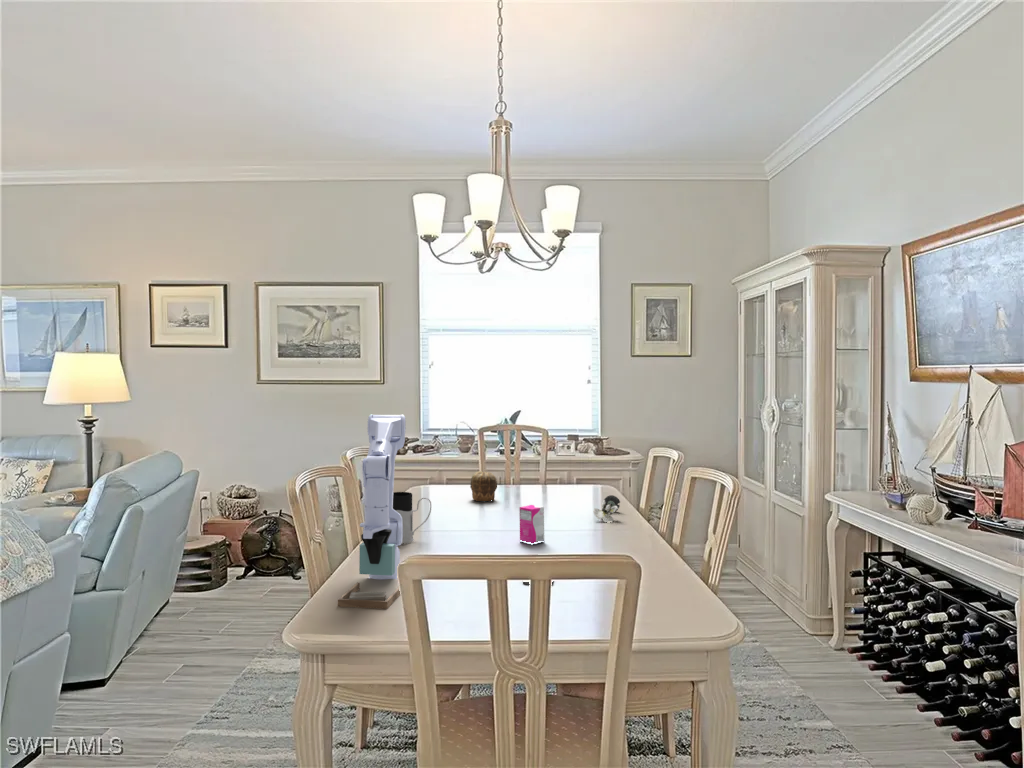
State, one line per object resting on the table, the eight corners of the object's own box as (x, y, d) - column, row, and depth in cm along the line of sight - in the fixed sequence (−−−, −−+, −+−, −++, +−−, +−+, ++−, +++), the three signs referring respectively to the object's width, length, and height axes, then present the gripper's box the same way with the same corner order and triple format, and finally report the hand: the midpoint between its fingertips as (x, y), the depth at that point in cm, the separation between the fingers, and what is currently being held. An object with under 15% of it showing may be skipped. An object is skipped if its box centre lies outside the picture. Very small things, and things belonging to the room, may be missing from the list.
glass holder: (387, 537, 248) (387, 491, 247) (431, 537, 249) (431, 491, 248) (385, 544, 239) (385, 496, 238) (431, 543, 240) (431, 496, 240)
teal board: (362, 571, 186) (362, 542, 186) (394, 572, 185) (394, 543, 184) (359, 574, 183) (359, 545, 183) (391, 575, 182) (392, 546, 182)
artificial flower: (624, 515, 293) (630, 492, 291) (608, 534, 273) (615, 509, 270) (602, 507, 296) (608, 484, 294) (584, 525, 276) (591, 500, 273)
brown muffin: (467, 502, 309) (467, 473, 309) (473, 497, 320) (473, 469, 320) (494, 503, 307) (494, 474, 307) (499, 498, 318) (499, 470, 318)
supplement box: (531, 539, 247) (531, 504, 247) (544, 542, 243) (545, 506, 242) (518, 542, 243) (519, 506, 243) (532, 545, 239) (532, 509, 238)
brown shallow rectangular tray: (357, 594, 188) (357, 582, 188) (403, 596, 186) (403, 584, 186) (337, 612, 175) (337, 599, 174) (387, 615, 173) (387, 601, 173)
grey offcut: (351, 601, 178) (351, 592, 178) (386, 600, 179) (386, 591, 179) (349, 606, 175) (349, 597, 175) (384, 605, 176) (385, 596, 175)
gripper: (370, 499, 191) (369, 553, 192) (350, 511, 177) (350, 569, 177) (397, 500, 190) (397, 554, 191) (380, 512, 176) (379, 570, 176)
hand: (376, 561), depth 184 cm, fingers closed on teal board, 2 cm apart
